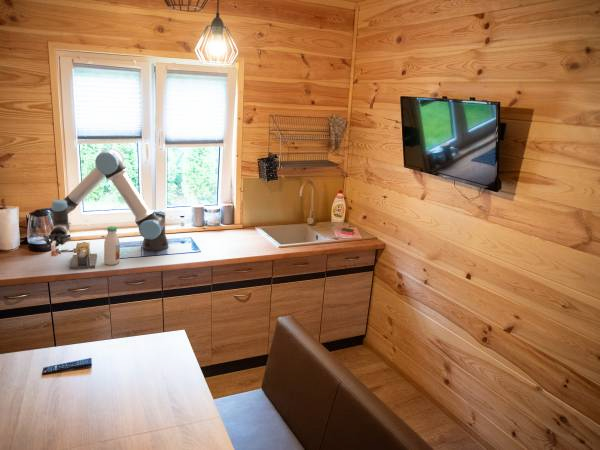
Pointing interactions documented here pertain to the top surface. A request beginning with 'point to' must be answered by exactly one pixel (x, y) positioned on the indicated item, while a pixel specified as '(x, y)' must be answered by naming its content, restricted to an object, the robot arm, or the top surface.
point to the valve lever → (59, 252)
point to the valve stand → (83, 257)
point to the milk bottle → (111, 247)
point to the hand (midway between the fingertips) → (52, 247)
